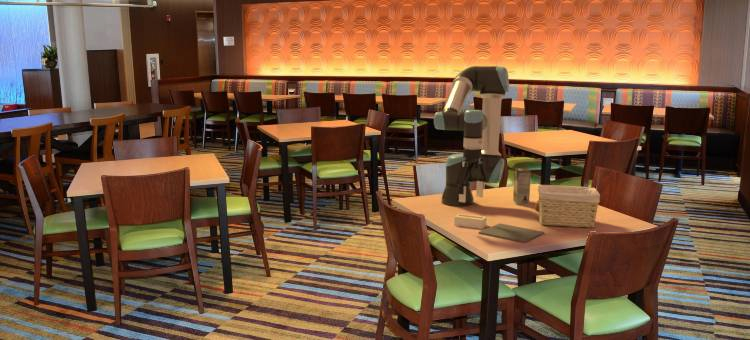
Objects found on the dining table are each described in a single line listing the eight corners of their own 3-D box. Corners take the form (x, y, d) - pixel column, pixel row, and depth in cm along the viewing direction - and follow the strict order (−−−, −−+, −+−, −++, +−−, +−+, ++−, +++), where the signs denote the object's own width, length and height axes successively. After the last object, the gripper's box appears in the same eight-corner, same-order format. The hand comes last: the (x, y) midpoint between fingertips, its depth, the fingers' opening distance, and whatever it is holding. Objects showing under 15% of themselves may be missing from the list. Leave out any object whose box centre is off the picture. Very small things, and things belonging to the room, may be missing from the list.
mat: (478, 233, 260) (478, 231, 260) (499, 224, 273) (499, 223, 272) (524, 242, 247) (524, 241, 247) (544, 233, 260) (544, 231, 260)
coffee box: (512, 200, 317) (513, 167, 314) (525, 200, 317) (527, 167, 314) (516, 204, 308) (517, 171, 305) (529, 204, 308) (531, 171, 305)
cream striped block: (454, 226, 272) (454, 216, 271) (458, 222, 277) (458, 213, 276) (482, 229, 267) (482, 219, 266) (486, 225, 272) (486, 216, 271)
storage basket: (592, 219, 282) (595, 186, 279) (598, 229, 266) (601, 194, 263) (535, 217, 286) (537, 184, 283) (538, 226, 270) (540, 191, 267)
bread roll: (540, 221, 293) (545, 207, 289) (528, 206, 301) (533, 193, 296) (558, 219, 297) (564, 205, 292) (546, 205, 304) (552, 191, 300)
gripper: (464, 152, 254) (462, 205, 258) (496, 146, 273) (494, 195, 277) (448, 150, 259) (446, 202, 262) (480, 144, 278) (478, 193, 281)
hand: (470, 199), depth 269 cm, fingers open, 13 cm apart
